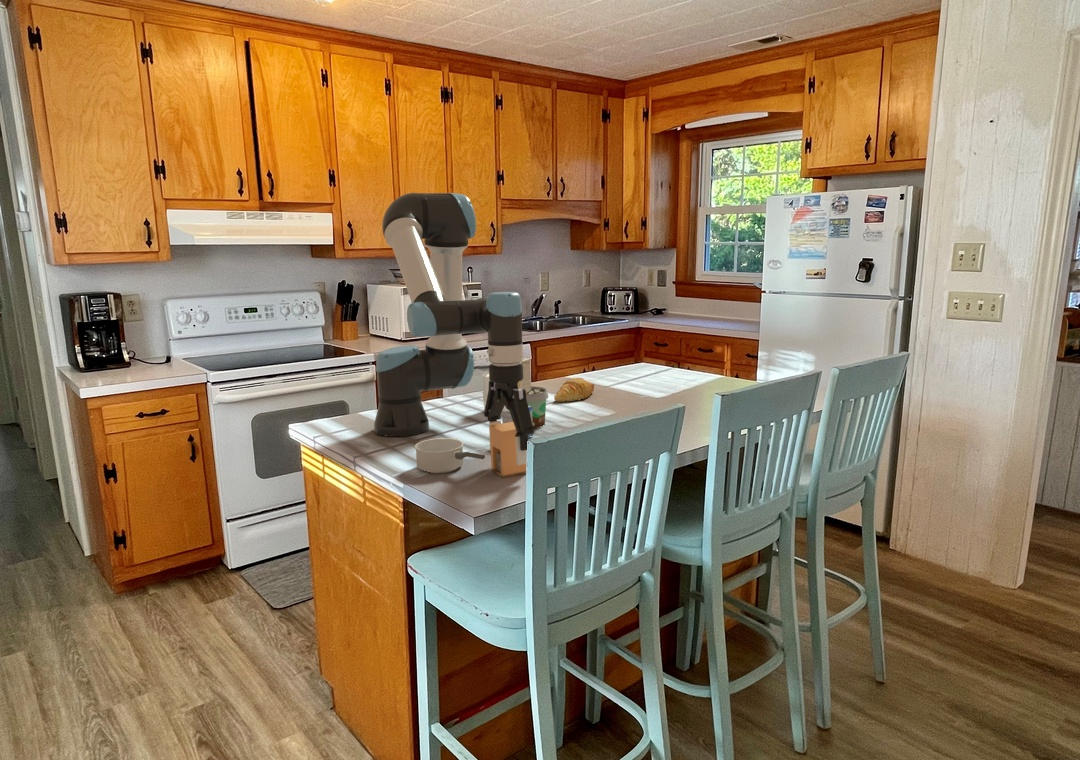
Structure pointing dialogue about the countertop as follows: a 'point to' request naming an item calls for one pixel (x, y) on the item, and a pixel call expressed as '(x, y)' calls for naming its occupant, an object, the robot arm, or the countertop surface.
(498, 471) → the sponge on coaster
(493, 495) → the countertop surface
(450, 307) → the robot arm
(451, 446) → the saucepan
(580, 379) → the croissant
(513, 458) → the tall orange brick
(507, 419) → the medicine box
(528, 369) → the supplement box
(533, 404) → the food container
